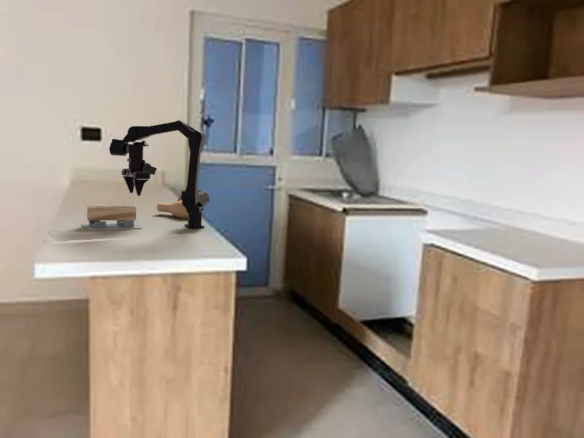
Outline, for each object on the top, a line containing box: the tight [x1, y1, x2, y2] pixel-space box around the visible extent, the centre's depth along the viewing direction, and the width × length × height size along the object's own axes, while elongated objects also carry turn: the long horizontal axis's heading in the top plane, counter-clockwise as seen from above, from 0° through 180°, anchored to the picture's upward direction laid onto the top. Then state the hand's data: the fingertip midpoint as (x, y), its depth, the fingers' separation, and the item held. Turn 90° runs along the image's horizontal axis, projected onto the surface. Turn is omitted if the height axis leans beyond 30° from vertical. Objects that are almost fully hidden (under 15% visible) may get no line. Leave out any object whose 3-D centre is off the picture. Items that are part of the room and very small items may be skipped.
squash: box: [156, 200, 188, 219], centre depth 250 cm, size 11×20×9 cm, turn 74°
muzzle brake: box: [176, 189, 210, 208], centre depth 269 cm, size 10×28×10 cm, turn 174°
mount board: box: [80, 220, 143, 232], centre depth 216 cm, size 13×20×3 cm, turn 125°
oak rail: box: [86, 205, 137, 222], centre depth 216 cm, size 4×18×5 cm, turn 114°
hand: (135, 194), depth 228 cm, fingers open, 9 cm apart
